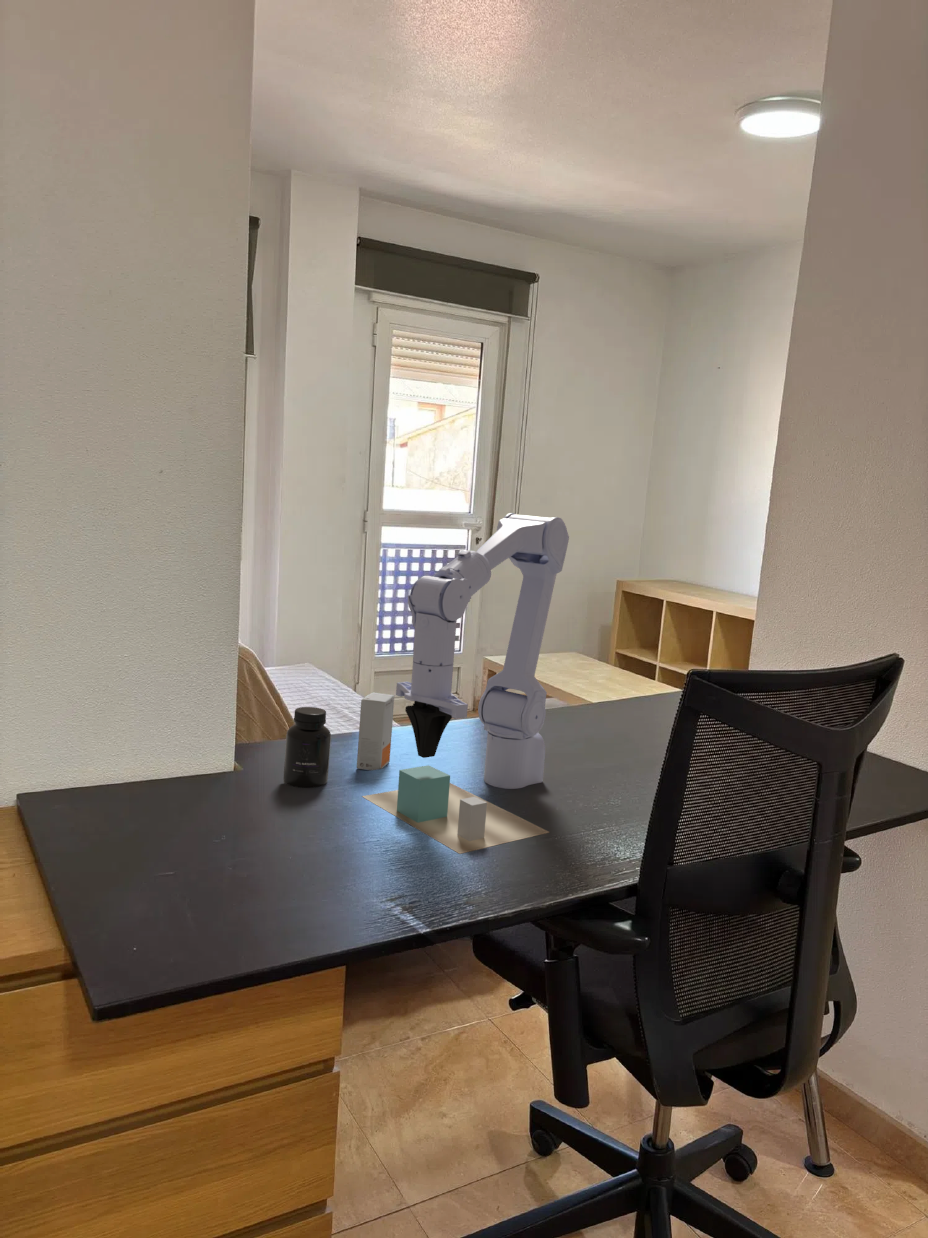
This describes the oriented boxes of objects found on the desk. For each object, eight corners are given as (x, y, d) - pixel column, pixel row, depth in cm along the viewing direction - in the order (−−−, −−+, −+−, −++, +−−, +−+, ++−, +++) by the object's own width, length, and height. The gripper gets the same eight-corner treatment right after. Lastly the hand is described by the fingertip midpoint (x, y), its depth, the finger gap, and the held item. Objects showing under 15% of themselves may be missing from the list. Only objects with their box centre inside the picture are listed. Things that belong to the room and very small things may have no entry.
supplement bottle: (297, 795, 137) (302, 718, 135) (275, 782, 142) (278, 707, 140) (336, 788, 141) (340, 713, 139) (312, 775, 146) (316, 703, 144)
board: (446, 786, 146) (447, 781, 146) (549, 837, 127) (549, 832, 127) (361, 801, 136) (361, 796, 136) (459, 859, 117) (459, 853, 117)
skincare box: (380, 772, 150) (385, 702, 149) (355, 769, 151) (360, 699, 149) (390, 762, 156) (395, 694, 155) (367, 759, 157) (371, 691, 155)
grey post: (472, 831, 125) (475, 796, 125) (484, 837, 123) (487, 802, 123) (457, 834, 124) (460, 799, 123) (469, 841, 122) (472, 805, 121)
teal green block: (425, 805, 134) (428, 765, 133) (447, 816, 130) (450, 775, 129) (396, 810, 131) (399, 770, 130) (417, 822, 127) (420, 780, 126)
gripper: (381, 654, 131) (375, 745, 133) (440, 674, 119) (433, 774, 121) (421, 651, 135) (414, 740, 137) (482, 671, 124) (474, 767, 126)
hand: (426, 755), depth 129 cm, fingers closed
